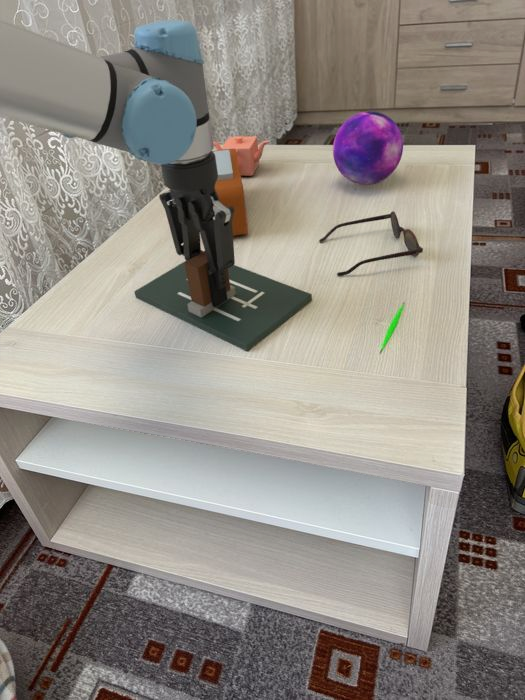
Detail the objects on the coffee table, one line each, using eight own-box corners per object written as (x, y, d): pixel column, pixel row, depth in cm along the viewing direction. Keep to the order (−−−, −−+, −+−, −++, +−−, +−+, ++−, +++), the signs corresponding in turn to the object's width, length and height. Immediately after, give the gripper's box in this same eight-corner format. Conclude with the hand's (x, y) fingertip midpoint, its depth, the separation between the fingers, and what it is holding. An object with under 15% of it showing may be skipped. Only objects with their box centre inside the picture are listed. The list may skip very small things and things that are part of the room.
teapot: (267, 180, 130) (264, 145, 125) (206, 181, 133) (201, 146, 128) (276, 162, 139) (274, 128, 134) (219, 162, 142) (214, 129, 137)
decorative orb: (346, 200, 118) (346, 128, 109) (324, 175, 130) (323, 109, 120) (411, 188, 120) (418, 117, 110) (384, 165, 131) (388, 98, 122)
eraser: (201, 318, 86) (192, 271, 81) (188, 311, 88) (179, 265, 83) (236, 294, 91) (229, 248, 85) (223, 289, 92) (216, 243, 87)
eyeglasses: (421, 264, 95) (424, 238, 92) (338, 279, 94) (339, 253, 91) (390, 228, 107) (392, 203, 104) (316, 240, 105) (316, 216, 102)
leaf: (407, 304, 87) (407, 299, 87) (382, 357, 78) (382, 353, 77) (401, 302, 88) (401, 298, 87) (376, 356, 78) (376, 351, 78)
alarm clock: (248, 237, 109) (242, 182, 101) (206, 242, 108) (197, 187, 101) (240, 189, 127) (234, 140, 120) (204, 194, 127) (196, 144, 120)
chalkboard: (135, 297, 95) (133, 291, 94) (201, 257, 104) (200, 251, 103) (247, 351, 81) (246, 344, 80) (312, 300, 90) (311, 293, 89)
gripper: (249, 155, 72) (264, 303, 87) (168, 136, 81) (194, 274, 95) (209, 175, 68) (232, 327, 82) (128, 153, 77) (161, 294, 91)
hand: (211, 298), depth 89 cm, fingers closed on eraser, 3 cm apart
